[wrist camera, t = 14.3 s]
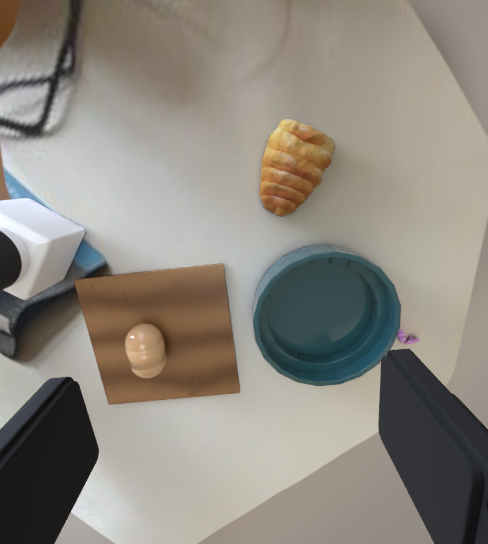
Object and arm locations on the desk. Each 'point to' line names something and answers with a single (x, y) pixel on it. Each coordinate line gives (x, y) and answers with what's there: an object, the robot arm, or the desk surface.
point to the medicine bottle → (34, 247)
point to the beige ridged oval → (146, 350)
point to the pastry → (293, 165)
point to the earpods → (403, 338)
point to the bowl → (325, 315)
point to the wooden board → (163, 331)
